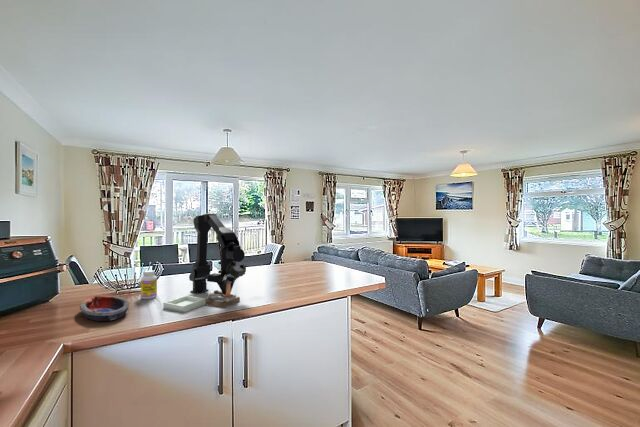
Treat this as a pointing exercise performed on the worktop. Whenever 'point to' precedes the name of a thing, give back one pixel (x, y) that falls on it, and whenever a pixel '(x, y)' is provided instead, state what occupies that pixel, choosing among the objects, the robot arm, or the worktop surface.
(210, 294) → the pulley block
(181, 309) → the tray
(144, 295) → the supplement bottle
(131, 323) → the worktop surface
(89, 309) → the dish
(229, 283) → the pin
